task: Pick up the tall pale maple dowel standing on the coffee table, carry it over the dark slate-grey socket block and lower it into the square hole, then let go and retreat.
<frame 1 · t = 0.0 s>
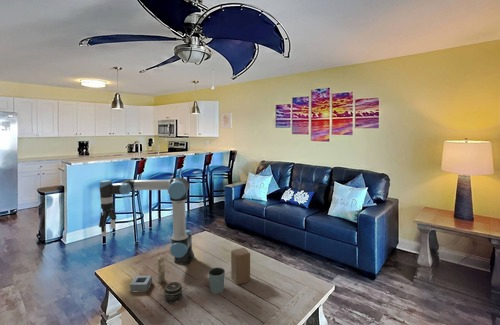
hand: (108, 232, 188), 28 cm above the table, fingers open, 13 cm apart
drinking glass: (216, 289, 168), on the table
jar: (173, 298, 159), on the table
socket: (141, 287, 170), on the table
peg: (161, 281, 176), on the table
wooden block: (240, 280, 179), on the table
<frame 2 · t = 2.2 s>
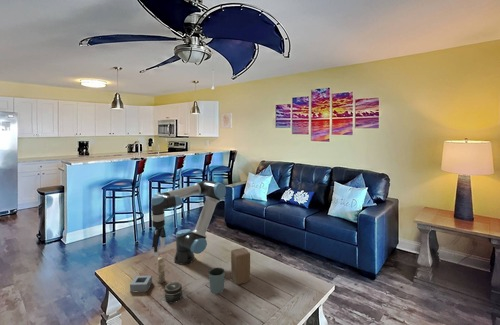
hand: (159, 251, 174), 21 cm above the table, fingers open, 13 cm apart
nothing on the table moved.
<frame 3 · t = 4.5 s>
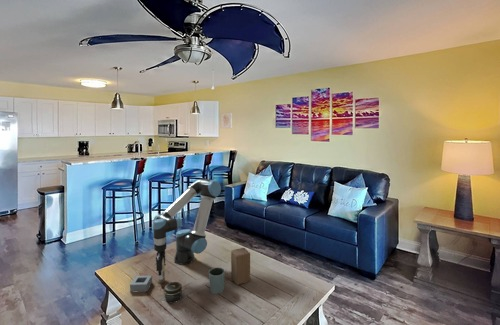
hand: (161, 277, 176), 3 cm above the table, fingers closed on peg, 4 cm apart
peg: (161, 281, 177), on the table, touching gripper
everything else where it was.
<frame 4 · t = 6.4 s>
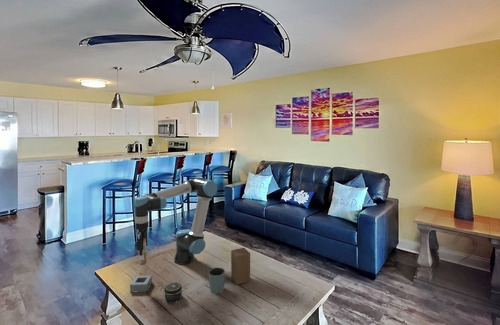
hand: (142, 257, 168), 19 cm above the table, fingers closed on peg, 4 cm apart
peg: (143, 263, 169), point 16 cm above the table, touching gripper
everything else where it was.
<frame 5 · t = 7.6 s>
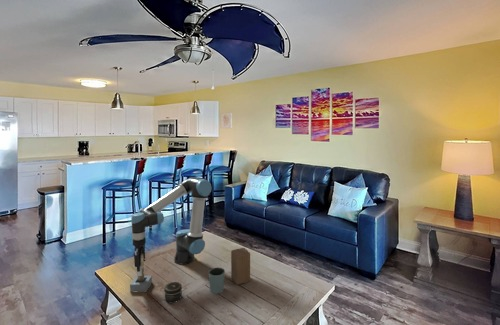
hand: (140, 273, 169), 9 cm above the table, fingers closed on peg, 4 cm apart
peg: (140, 279, 169), point 6 cm above the table, touching gripper
everything else where it was.
when the fingers open (6 cm above the table, at t = 8.3 s): peg drops 2 cm, resting in socket.
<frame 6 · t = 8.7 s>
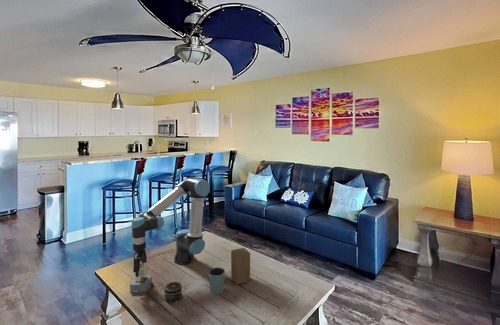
hand: (140, 276, 169), 7 cm above the table, fingers open, 9 cm apart
peg: (141, 287, 170), resting in socket
everything else where it was.
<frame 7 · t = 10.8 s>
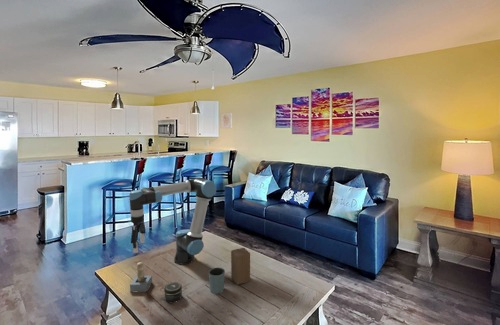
hand: (139, 247, 170), 25 cm above the table, fingers open, 13 cm apart
nothing on the table moved.
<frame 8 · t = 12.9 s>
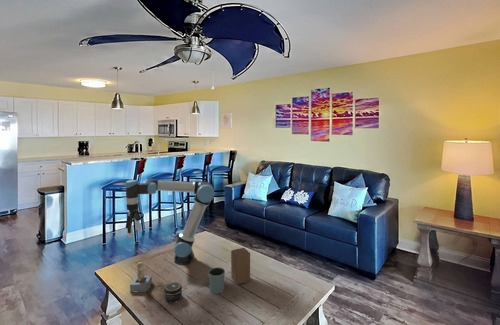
hand: (134, 233, 184), 29 cm above the table, fingers open, 13 cm apart
nothing on the table moved.
at the end: peg 0.0 cm off-centre on the socket, point 0.0 cm above the socket's base; peg tilted 0°; the gripper is holding nothing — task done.
